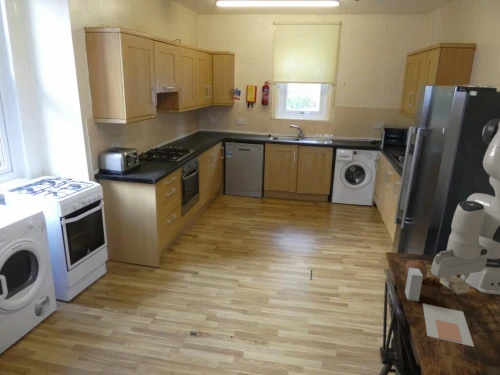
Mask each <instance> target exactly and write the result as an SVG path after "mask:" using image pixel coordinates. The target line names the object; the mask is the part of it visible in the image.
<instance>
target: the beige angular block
mask: <svg viewBox="0 0 500 375" xmlns="http://www.w3.org/2000/svg"><path fill="white" fill-rule="evenodd" d="M449 279H450V281H451V282H452V284H451V286H449V287H447V286H445V285H444V282H445V280H444V278H439V283H440V284H442V285H443V286H445V287H446V288H448V289H449V290H451V291H452V292H453V293H455V294H456V295H463V294H469V292H470V288H471V286H470V285H469V284H468V283H466V282H465V281H463V280H461V279H460V277H458V275H456V276H451V278H449Z"/></svg>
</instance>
